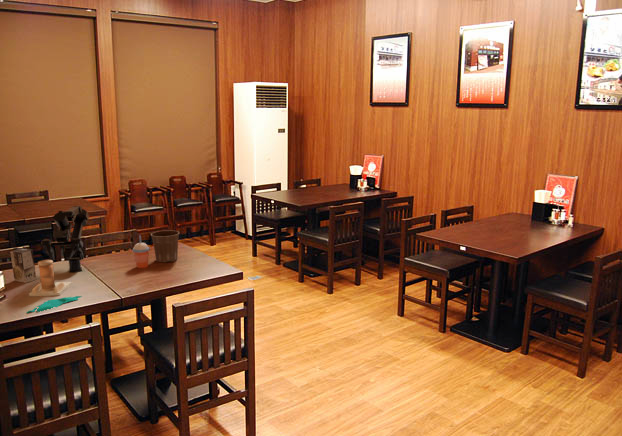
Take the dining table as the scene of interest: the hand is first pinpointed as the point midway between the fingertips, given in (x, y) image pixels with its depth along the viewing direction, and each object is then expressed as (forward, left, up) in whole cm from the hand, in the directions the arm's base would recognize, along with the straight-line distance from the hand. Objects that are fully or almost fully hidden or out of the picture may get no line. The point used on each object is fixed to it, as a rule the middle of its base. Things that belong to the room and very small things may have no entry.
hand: (60, 258), depth 256 cm
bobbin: (+10, -6, -12) cm, 17 cm away
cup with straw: (-12, +41, -14) cm, 44 cm away
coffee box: (-16, -17, -14) cm, 27 cm away
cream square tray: (+7, -5, -13) cm, 16 cm away
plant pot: (-18, +56, -14) cm, 60 cm away
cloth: (+29, -4, -14) cm, 32 cm away
